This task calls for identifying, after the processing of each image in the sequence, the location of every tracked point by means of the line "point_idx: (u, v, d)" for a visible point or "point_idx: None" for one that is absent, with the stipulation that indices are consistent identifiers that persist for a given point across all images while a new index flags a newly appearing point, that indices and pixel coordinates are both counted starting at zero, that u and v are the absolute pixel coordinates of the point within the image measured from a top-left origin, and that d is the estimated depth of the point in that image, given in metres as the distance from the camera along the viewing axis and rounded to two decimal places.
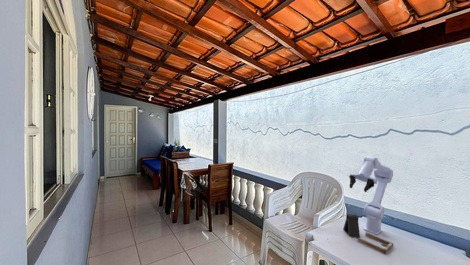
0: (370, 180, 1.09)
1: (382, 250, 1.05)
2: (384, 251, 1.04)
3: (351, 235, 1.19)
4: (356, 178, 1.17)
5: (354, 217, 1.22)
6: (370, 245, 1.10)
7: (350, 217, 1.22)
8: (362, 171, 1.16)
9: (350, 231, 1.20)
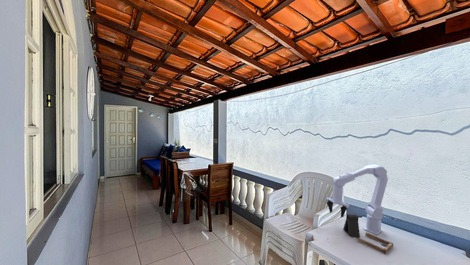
0: (343, 209, 1.26)
1: (382, 250, 1.05)
2: (384, 251, 1.04)
3: (351, 235, 1.19)
4: (332, 202, 1.34)
5: (354, 217, 1.22)
6: (370, 245, 1.10)
7: (350, 217, 1.22)
8: (334, 198, 1.30)
9: (350, 231, 1.20)
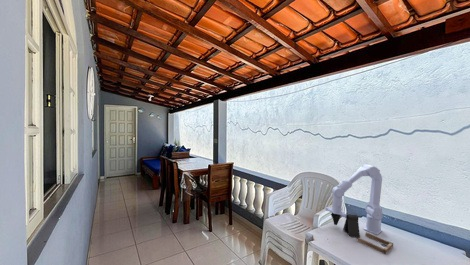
0: (336, 217, 1.29)
1: (382, 250, 1.05)
2: (384, 251, 1.04)
3: (351, 235, 1.19)
4: (332, 212, 1.34)
5: (354, 217, 1.22)
6: (370, 245, 1.10)
7: (350, 217, 1.22)
8: (333, 208, 1.30)
9: (350, 231, 1.20)
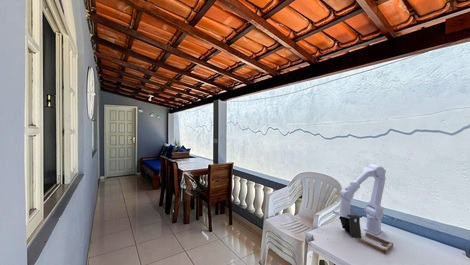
0: (344, 220, 1.24)
1: (382, 250, 1.05)
2: (384, 251, 1.04)
3: (353, 236, 1.19)
4: None
5: (355, 217, 1.21)
6: (370, 245, 1.10)
7: (351, 217, 1.21)
8: (342, 211, 1.26)
9: (352, 232, 1.20)
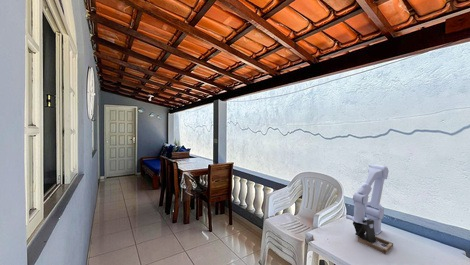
0: (359, 226, 1.17)
1: (382, 250, 1.05)
2: (384, 251, 1.04)
3: (370, 242, 1.13)
4: (353, 220, 1.23)
5: (371, 222, 1.15)
6: (370, 245, 1.10)
7: (368, 223, 1.14)
8: (356, 217, 1.19)
9: (369, 238, 1.13)
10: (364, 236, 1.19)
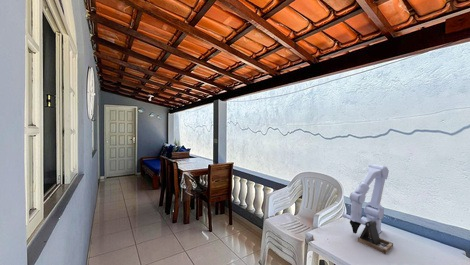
0: (356, 225, 1.19)
1: (382, 250, 1.05)
2: (384, 251, 1.04)
3: (375, 244, 1.11)
4: (350, 219, 1.24)
5: (374, 223, 1.15)
6: (370, 245, 1.10)
7: (371, 224, 1.14)
8: (353, 215, 1.20)
9: (374, 240, 1.12)
10: (368, 239, 1.17)
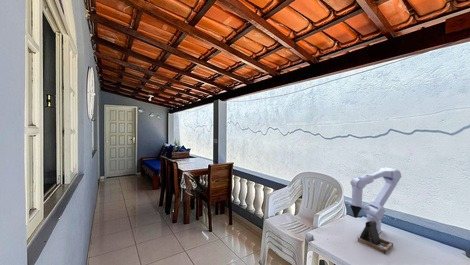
0: (357, 209, 1.23)
1: (382, 250, 1.05)
2: (384, 251, 1.04)
3: (375, 244, 1.11)
4: (351, 204, 1.28)
5: (374, 223, 1.15)
6: (370, 245, 1.10)
7: (371, 224, 1.14)
8: (354, 200, 1.25)
9: (374, 240, 1.12)
10: (368, 239, 1.17)
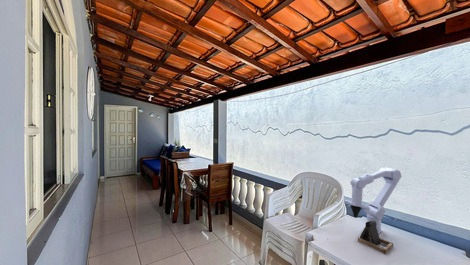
0: (357, 209, 1.23)
1: (382, 250, 1.05)
2: (384, 251, 1.04)
3: (375, 244, 1.11)
4: (351, 204, 1.28)
5: (374, 223, 1.15)
6: (370, 245, 1.10)
7: (371, 224, 1.14)
8: (354, 200, 1.25)
9: (374, 240, 1.12)
10: (368, 239, 1.17)
